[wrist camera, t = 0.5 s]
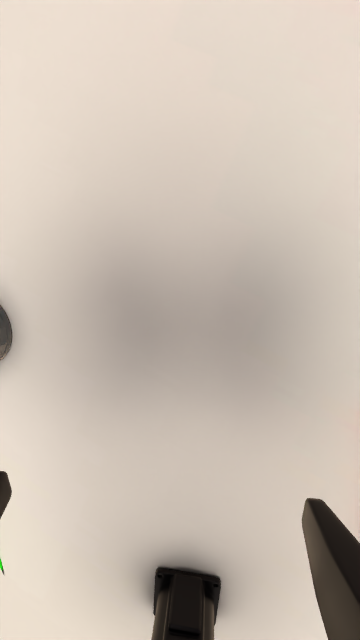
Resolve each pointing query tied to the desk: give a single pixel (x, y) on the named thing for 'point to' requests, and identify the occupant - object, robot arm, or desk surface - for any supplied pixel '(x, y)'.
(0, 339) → the faceted dark-rimmed cup
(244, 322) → the desk surface
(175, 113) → the desk surface
